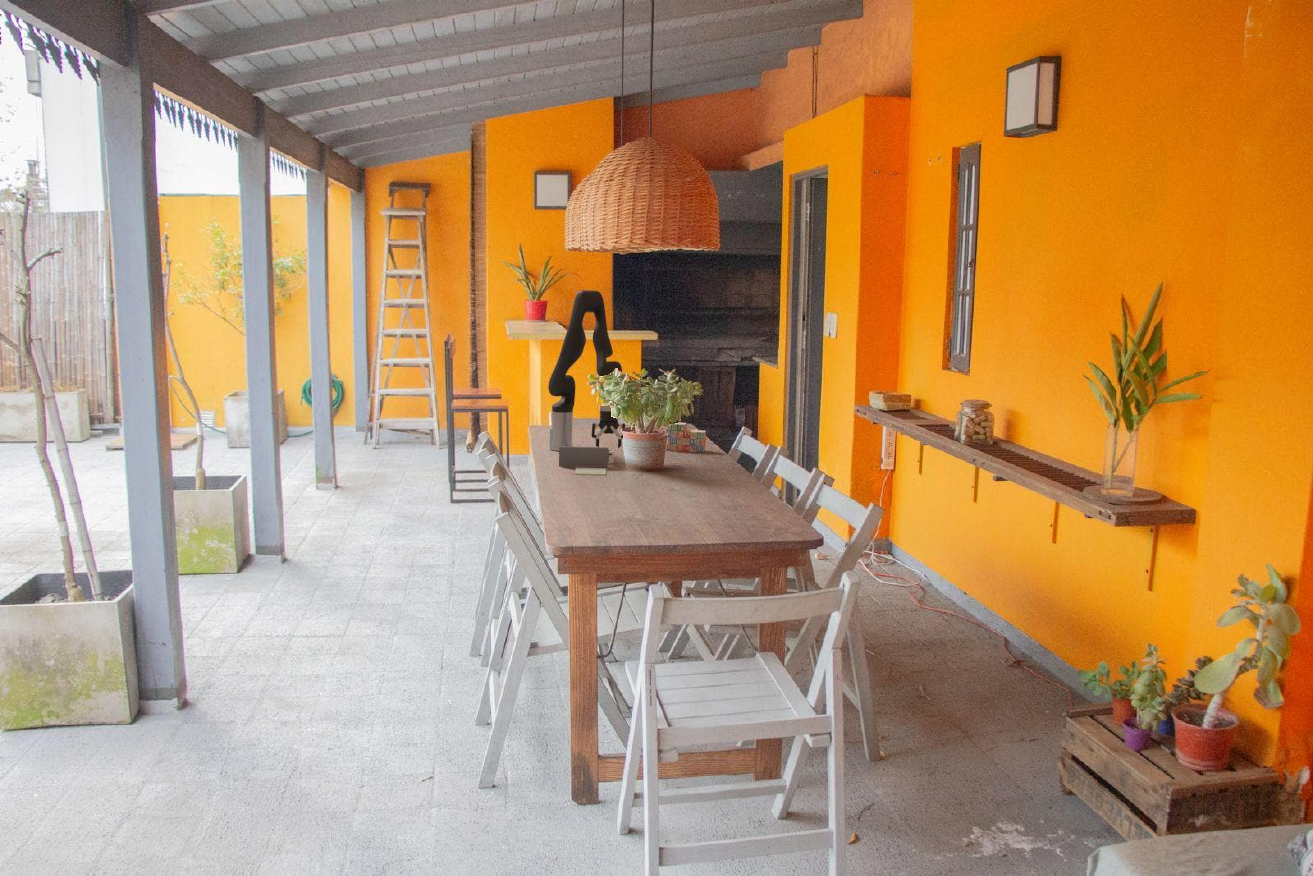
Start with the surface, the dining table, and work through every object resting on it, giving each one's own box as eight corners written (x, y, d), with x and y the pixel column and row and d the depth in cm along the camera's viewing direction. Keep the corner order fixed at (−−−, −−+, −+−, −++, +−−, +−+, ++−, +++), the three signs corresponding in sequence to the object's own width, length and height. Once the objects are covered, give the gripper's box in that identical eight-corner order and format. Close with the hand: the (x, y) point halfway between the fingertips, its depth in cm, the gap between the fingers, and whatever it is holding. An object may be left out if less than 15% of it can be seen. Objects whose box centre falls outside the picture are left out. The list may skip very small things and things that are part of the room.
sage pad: (575, 474, 397) (575, 473, 397) (575, 468, 408) (575, 467, 408) (605, 475, 397) (605, 473, 397) (605, 469, 409) (605, 468, 409)
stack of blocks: (705, 450, 461) (706, 424, 459) (702, 452, 455) (704, 425, 453) (660, 447, 466) (660, 420, 464) (656, 449, 460) (657, 422, 458)
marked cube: (601, 463, 422) (601, 451, 421) (601, 461, 427) (601, 449, 426) (613, 463, 422) (613, 451, 421) (613, 461, 427) (613, 449, 426)
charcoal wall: (558, 466, 412) (559, 447, 411) (558, 465, 414) (559, 446, 413) (607, 467, 413) (608, 448, 412) (607, 466, 415) (608, 447, 414)
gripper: (625, 408, 425) (625, 446, 427) (591, 408, 424) (591, 446, 426) (626, 410, 418) (625, 449, 420) (591, 410, 417) (591, 449, 419)
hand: (608, 447), depth 423 cm, fingers open, 8 cm apart
